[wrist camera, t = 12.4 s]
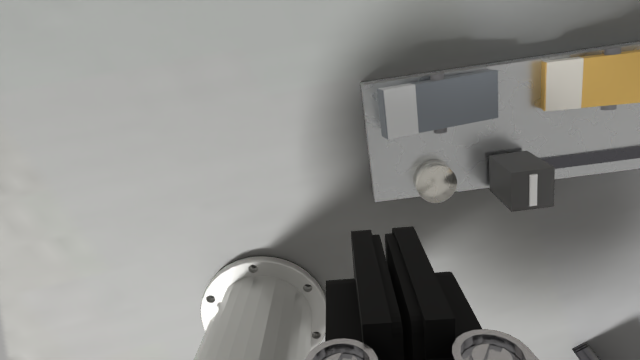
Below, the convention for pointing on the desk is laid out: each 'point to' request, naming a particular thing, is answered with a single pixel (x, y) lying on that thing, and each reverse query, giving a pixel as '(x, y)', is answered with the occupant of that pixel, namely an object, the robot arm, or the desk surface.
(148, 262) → the desk surface
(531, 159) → the slider knob
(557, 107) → the amber rocker
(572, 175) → the panel
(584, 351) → the mini dv tape
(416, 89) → the slate rocker
